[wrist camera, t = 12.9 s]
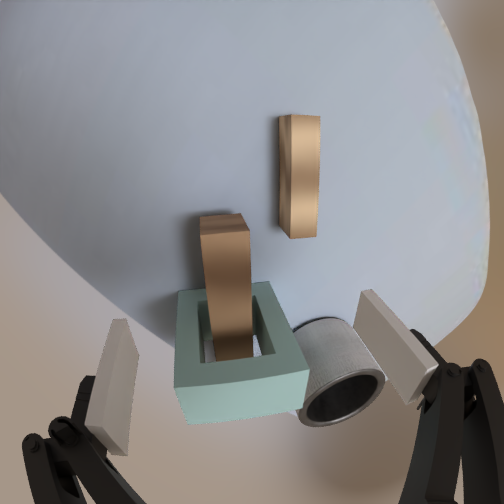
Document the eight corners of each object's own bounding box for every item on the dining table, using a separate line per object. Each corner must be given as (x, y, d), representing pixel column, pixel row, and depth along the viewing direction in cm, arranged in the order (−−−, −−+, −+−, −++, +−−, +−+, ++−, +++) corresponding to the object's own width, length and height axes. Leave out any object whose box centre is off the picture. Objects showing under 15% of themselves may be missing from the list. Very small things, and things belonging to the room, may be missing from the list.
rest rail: (279, 116, 26) (291, 114, 23) (304, 117, 27) (320, 116, 23) (279, 225, 31) (290, 238, 28) (302, 224, 32) (316, 236, 28)
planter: (278, 381, 43) (297, 436, 33) (273, 326, 37) (298, 388, 27) (347, 362, 44) (375, 409, 34) (356, 306, 39) (395, 355, 29)
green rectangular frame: (178, 291, 32) (173, 387, 19) (269, 281, 34) (309, 369, 21) (186, 329, 35) (188, 424, 22) (268, 320, 36) (302, 408, 23)
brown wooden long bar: (199, 216, 27) (199, 235, 22) (241, 213, 27) (250, 230, 23) (218, 373, 36) (222, 402, 31) (248, 369, 36) (255, 397, 32)
